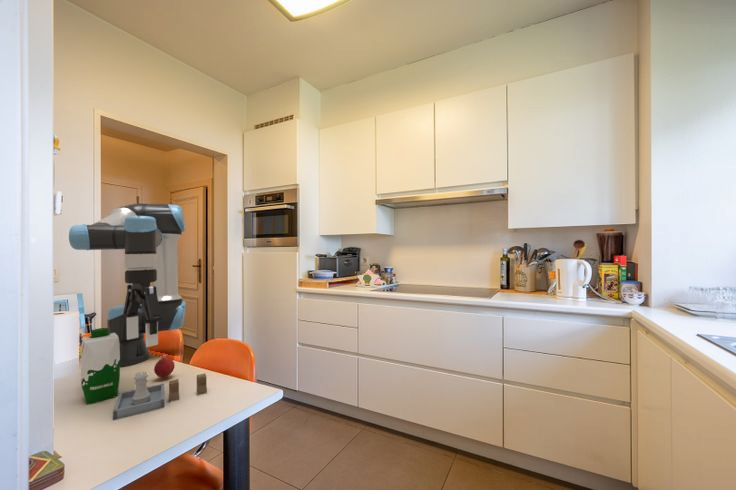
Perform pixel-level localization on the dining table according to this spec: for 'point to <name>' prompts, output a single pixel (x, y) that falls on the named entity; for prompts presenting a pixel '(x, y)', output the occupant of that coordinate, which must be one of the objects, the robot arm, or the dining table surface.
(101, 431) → the dining table surface
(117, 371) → the milk carton
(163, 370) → the red round fruit
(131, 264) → the robot arm
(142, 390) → the rook chess piece
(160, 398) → the tray
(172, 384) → the walnut posts
